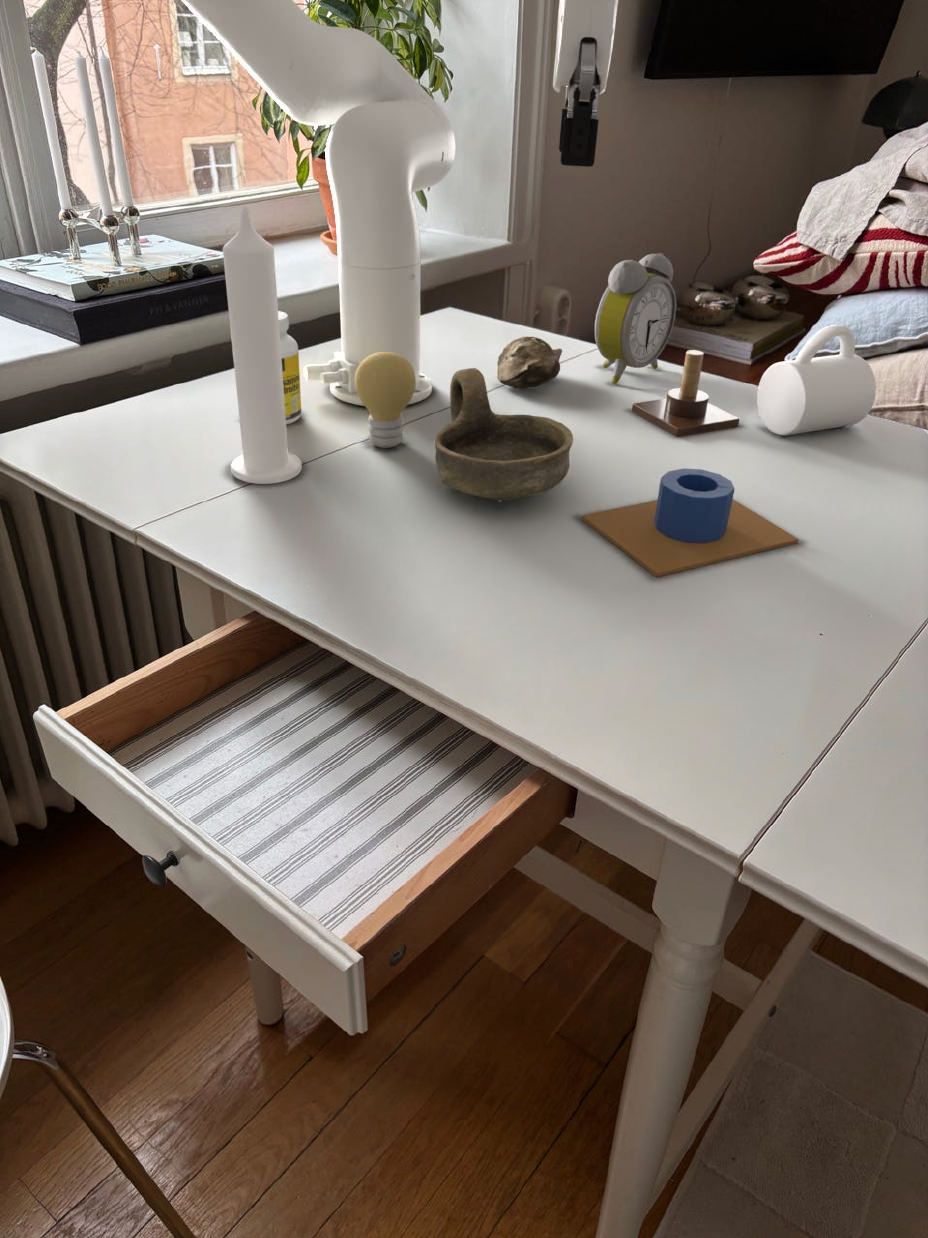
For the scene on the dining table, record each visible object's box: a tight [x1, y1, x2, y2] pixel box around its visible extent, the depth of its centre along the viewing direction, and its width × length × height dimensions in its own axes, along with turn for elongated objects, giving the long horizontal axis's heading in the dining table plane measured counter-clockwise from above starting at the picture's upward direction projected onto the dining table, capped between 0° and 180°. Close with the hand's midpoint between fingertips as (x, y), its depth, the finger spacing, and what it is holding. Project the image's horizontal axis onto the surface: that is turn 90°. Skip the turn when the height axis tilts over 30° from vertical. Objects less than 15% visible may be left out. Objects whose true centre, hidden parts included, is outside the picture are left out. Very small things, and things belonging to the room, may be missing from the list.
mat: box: [581, 498, 800, 578], centre depth 89 cm, size 16×12×1 cm
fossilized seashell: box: [496, 336, 563, 390], centre depth 122 cm, size 8×7×10 cm
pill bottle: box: [278, 310, 302, 425], centre depth 107 cm, size 6×6×12 cm
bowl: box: [434, 367, 574, 503], centre depth 94 cm, size 14×18×10 cm
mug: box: [756, 324, 877, 437], centre depth 110 cm, size 8×10×12 cm
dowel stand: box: [631, 349, 740, 438], centre depth 112 cm, size 9×9×8 cm
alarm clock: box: [594, 252, 677, 385], centre depth 124 cm, size 12×7×15 cm, turn 137°
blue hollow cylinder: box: [654, 467, 736, 543], centre depth 88 cm, size 6×6×4 cm
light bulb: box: [355, 352, 416, 449], centre depth 102 cm, size 6×6×10 cm
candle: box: [222, 206, 303, 485], centre depth 91 cm, size 7×7×25 cm
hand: (575, 158), depth 96 cm, fingers open, 9 cm apart
